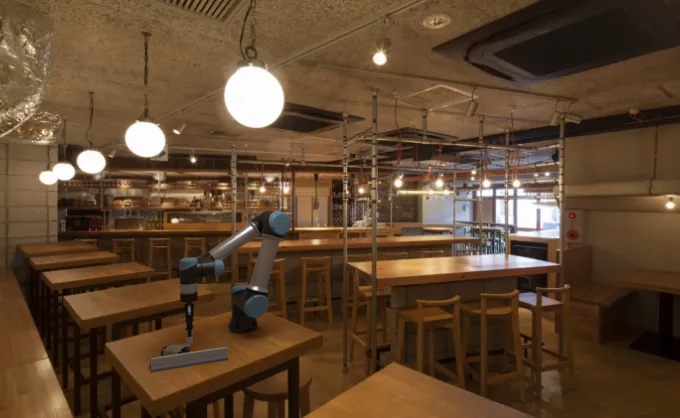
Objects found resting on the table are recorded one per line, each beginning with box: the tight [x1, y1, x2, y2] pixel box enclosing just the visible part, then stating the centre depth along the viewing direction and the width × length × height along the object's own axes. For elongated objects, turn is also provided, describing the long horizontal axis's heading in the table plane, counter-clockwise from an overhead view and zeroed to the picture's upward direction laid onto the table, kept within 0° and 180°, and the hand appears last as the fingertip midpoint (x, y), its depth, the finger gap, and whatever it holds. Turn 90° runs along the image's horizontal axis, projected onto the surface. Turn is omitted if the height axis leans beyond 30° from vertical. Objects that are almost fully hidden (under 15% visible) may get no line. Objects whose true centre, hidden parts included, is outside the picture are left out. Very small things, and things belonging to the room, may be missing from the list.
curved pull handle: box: [150, 345, 229, 373], centre depth 164 cm, size 30×10×4 cm, turn 113°
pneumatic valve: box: [160, 342, 192, 357], centre depth 168 cm, size 6×12×12 cm
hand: (189, 342), depth 175 cm, fingers closed
